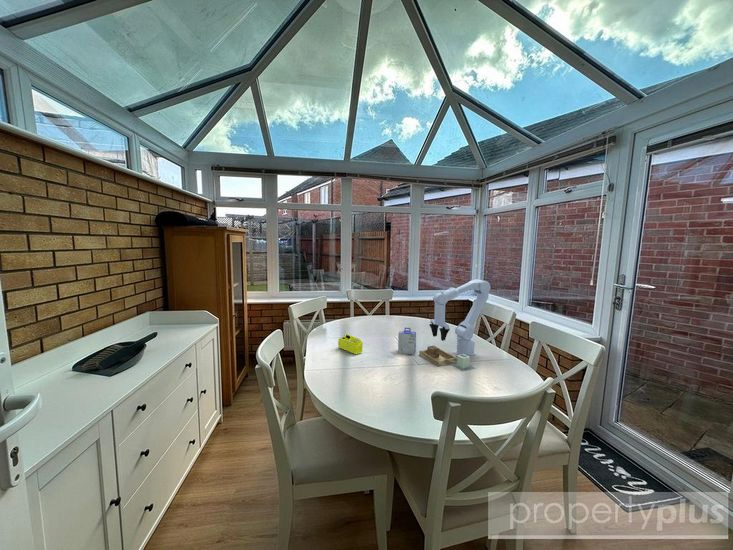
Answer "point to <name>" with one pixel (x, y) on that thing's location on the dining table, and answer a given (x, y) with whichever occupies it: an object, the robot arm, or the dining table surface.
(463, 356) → the sage block
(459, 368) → the rubber pad
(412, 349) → the ink cartridge box
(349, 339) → the yellow toy chassis
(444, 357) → the oak tray
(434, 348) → the walnut block
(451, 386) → the dining table surface
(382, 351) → the dining table surface
